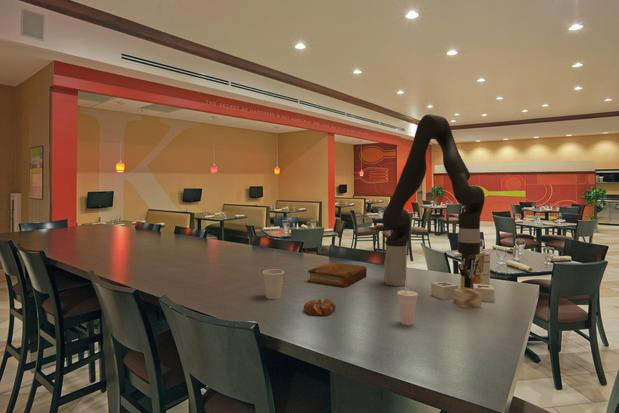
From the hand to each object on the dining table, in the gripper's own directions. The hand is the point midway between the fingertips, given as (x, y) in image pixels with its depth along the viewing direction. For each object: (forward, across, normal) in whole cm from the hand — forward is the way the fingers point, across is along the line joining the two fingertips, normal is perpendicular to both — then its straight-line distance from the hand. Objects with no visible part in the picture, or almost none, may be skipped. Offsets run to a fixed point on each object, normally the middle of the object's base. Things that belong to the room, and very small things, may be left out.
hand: (468, 287), depth 140 cm
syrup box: (+6, +33, +8) cm, 35 cm away
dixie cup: (+6, -46, +56) cm, 73 cm away
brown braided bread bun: (+7, -44, +33) cm, 56 cm away
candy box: (+6, +21, +7) cm, 23 cm away
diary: (+6, -6, +58) cm, 58 cm away
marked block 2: (+6, +11, -1) cm, 13 cm away
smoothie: (+6, -33, +5) cm, 34 cm away
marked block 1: (+6, +4, +11) cm, 13 cm away
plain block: (+6, 0, 0) cm, 7 cm away
